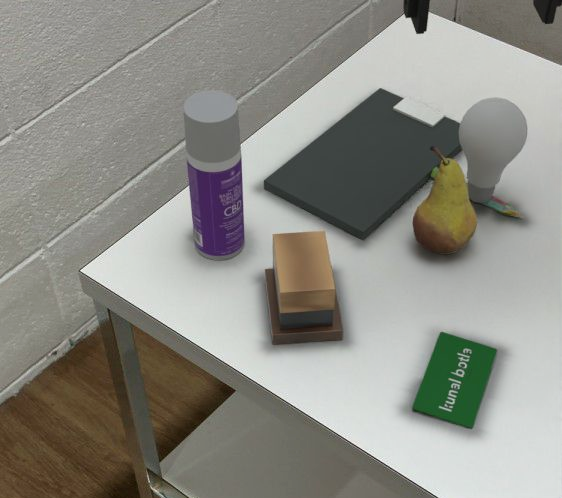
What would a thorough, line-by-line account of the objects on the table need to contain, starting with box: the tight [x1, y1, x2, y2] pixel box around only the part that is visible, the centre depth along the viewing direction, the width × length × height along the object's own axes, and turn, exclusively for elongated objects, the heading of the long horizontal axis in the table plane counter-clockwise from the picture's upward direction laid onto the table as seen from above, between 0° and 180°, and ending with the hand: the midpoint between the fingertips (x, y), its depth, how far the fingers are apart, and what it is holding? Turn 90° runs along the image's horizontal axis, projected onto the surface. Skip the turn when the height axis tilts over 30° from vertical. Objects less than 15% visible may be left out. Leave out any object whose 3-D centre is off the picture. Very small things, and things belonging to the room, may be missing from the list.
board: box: [263, 87, 462, 241], centre depth 95 cm, size 20×12×1 cm, turn 141°
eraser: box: [272, 230, 336, 329], centre depth 80 cm, size 4×7×4 cm, turn 5°
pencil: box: [430, 167, 525, 220], centre depth 93 cm, size 1×1×18 cm
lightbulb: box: [459, 97, 529, 204], centre depth 88 cm, size 6×6×11 cm
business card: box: [411, 331, 498, 429], centre depth 78 cm, size 9×1×5 cm
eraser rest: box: [264, 265, 344, 345], centre depth 82 cm, size 6×8×1 cm
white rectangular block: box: [393, 96, 446, 127], centre depth 99 cm, size 2×5×1 cm, turn 52°
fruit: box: [412, 146, 478, 255], centre depth 83 cm, size 6×6×12 cm
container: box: [182, 89, 246, 261], centre depth 82 cm, size 5×5×15 cm
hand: (480, 19), depth 72 cm, fingers open, 9 cm apart
